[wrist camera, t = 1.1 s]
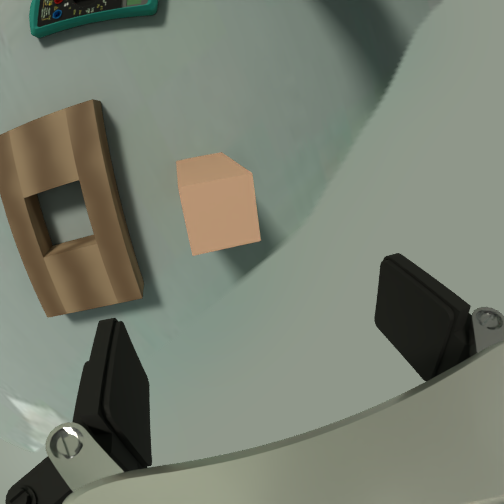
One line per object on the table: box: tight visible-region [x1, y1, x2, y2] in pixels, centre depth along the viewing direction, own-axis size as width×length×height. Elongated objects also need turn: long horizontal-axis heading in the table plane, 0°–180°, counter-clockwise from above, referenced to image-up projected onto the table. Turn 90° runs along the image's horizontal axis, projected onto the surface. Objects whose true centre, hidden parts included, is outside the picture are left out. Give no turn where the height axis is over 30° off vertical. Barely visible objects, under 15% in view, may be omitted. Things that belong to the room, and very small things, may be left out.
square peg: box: [176, 152, 261, 256], centre depth 28 cm, size 5×5×14 cm
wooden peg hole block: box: [0, 100, 144, 317], centre depth 30 cm, size 13×22×4 cm, turn 8°
